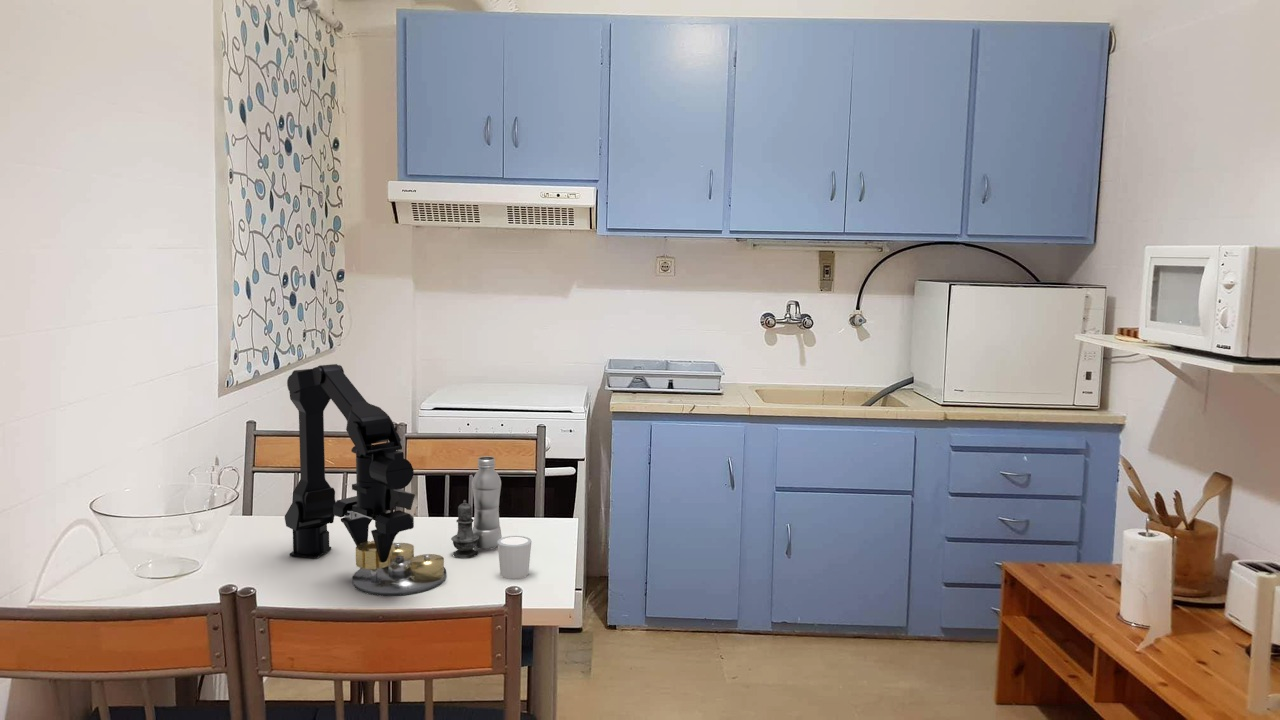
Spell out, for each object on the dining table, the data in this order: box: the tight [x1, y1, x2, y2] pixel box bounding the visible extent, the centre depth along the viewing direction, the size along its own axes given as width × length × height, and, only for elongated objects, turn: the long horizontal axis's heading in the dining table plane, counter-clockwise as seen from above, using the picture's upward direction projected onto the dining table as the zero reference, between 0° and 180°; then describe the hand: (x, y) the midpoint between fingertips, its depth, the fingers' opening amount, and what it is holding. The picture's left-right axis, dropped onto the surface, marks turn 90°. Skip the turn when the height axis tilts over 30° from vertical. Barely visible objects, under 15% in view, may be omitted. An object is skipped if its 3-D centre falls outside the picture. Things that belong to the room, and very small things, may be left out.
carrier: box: [352, 542, 447, 597], centre depth 187 cm, size 18×18×5 cm
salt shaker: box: [450, 499, 479, 559], centre depth 202 cm, size 6×6×12 cm
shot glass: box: [497, 535, 532, 580], centre depth 191 cm, size 7×7×7 cm
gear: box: [355, 540, 392, 569], centre depth 182 cm, size 6×6×4 cm
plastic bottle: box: [471, 455, 503, 550], centre depth 206 cm, size 6×7×20 cm
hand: (373, 557), depth 182 cm, fingers closed on gear, 6 cm apart
